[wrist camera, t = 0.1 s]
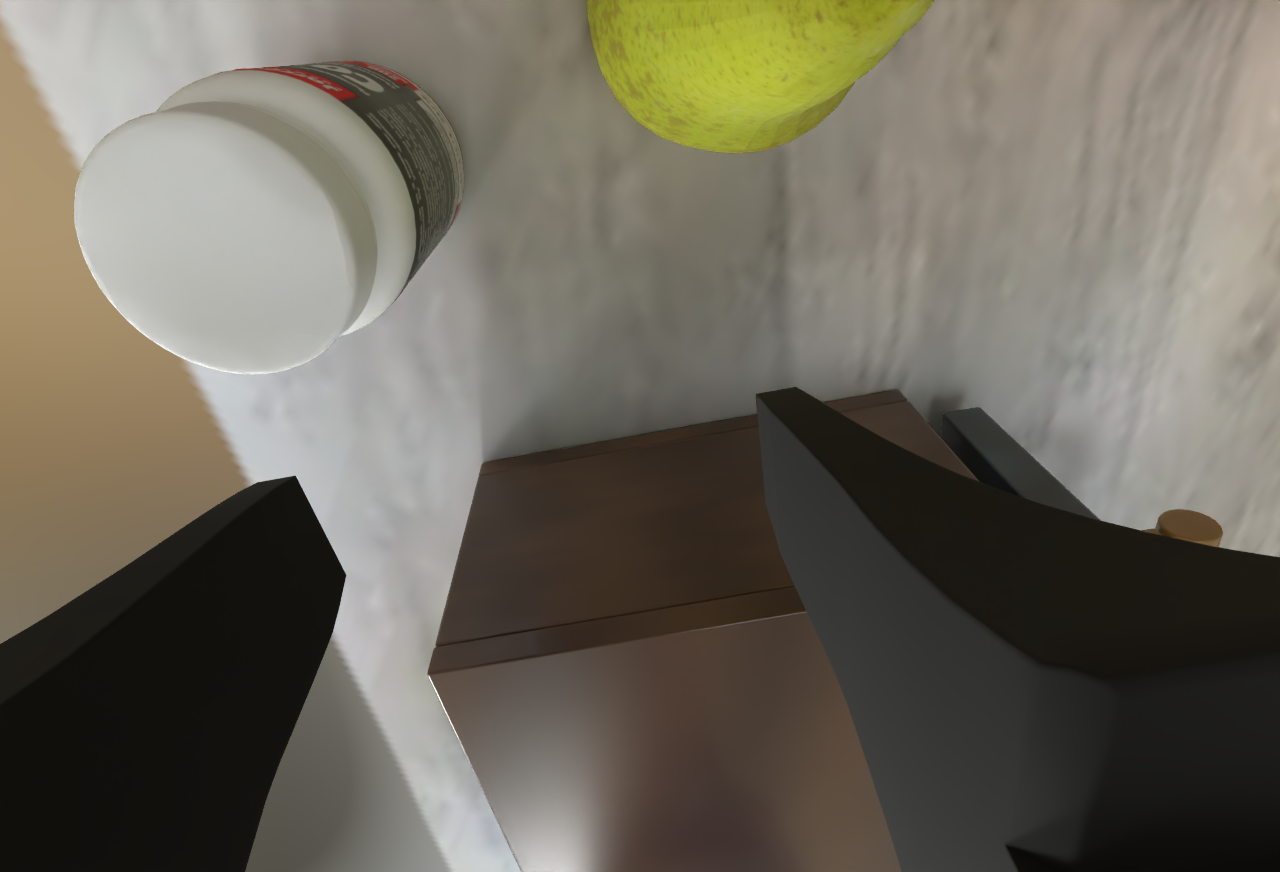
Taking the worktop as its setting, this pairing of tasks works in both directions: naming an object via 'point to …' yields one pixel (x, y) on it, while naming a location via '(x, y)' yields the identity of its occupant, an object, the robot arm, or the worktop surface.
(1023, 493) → the drawer
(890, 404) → the cabinet
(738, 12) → the fruit
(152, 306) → the pill bottle
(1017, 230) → the worktop surface
